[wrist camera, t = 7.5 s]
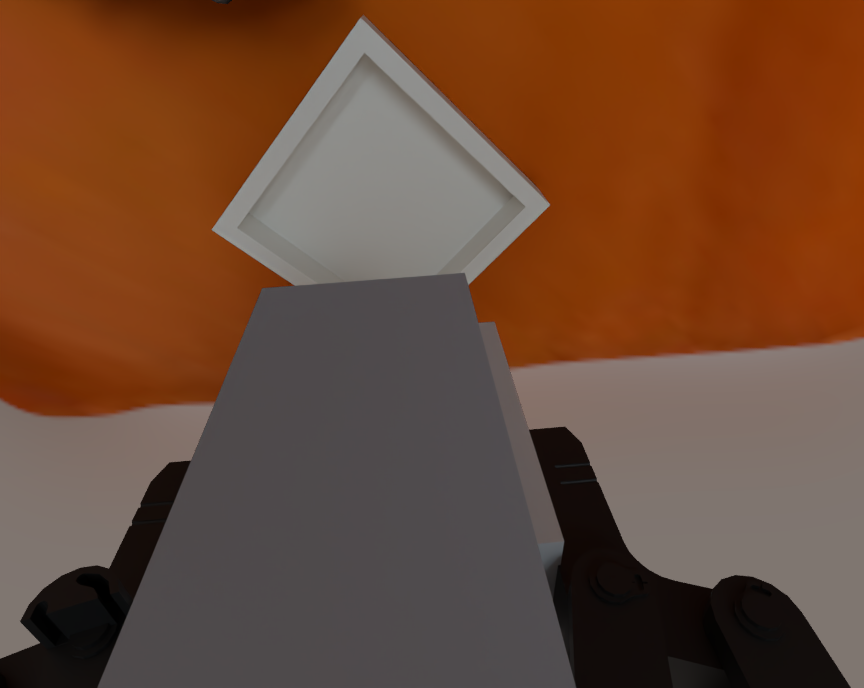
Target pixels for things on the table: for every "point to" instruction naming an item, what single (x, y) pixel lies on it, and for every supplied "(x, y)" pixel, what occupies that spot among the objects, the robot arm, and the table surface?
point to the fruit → (222, 1)
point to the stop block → (349, 511)
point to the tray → (378, 179)
